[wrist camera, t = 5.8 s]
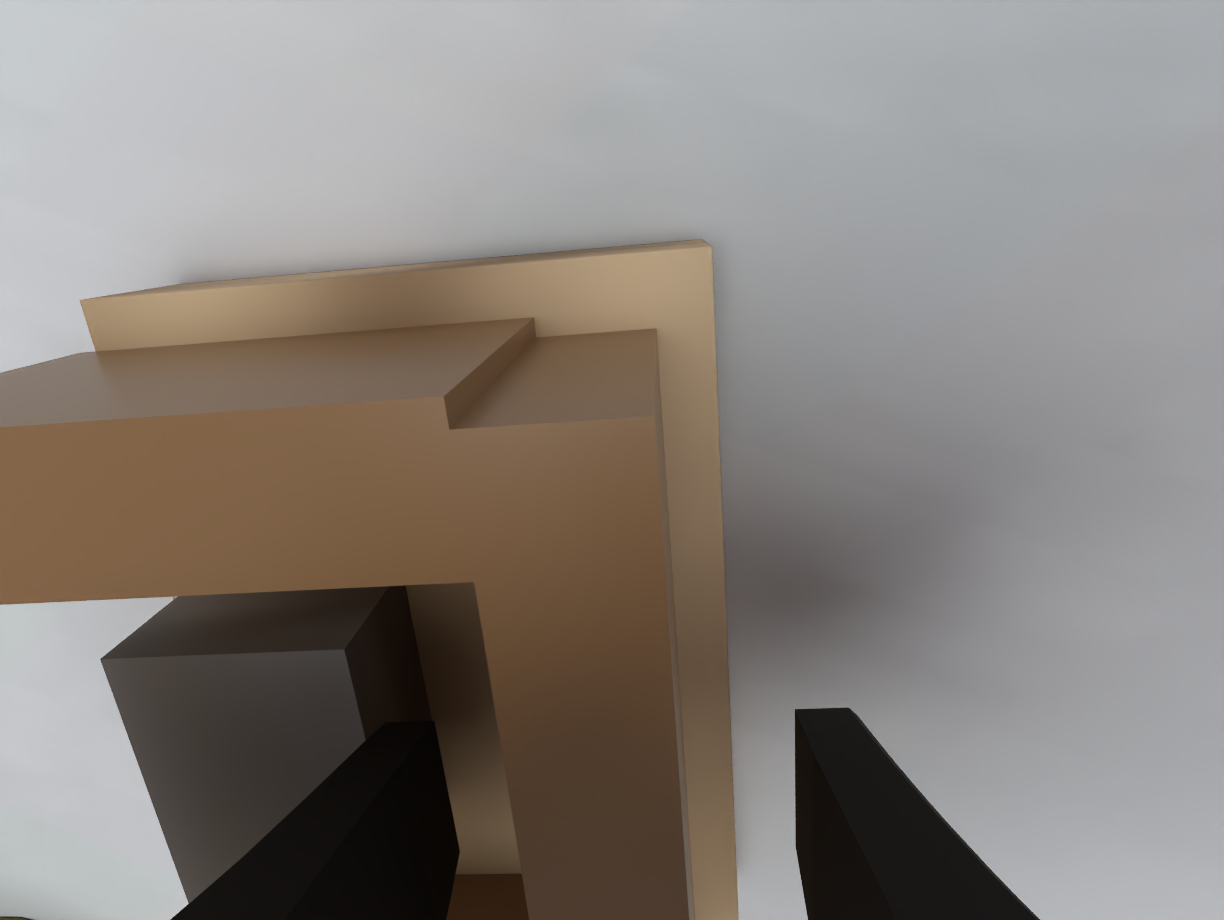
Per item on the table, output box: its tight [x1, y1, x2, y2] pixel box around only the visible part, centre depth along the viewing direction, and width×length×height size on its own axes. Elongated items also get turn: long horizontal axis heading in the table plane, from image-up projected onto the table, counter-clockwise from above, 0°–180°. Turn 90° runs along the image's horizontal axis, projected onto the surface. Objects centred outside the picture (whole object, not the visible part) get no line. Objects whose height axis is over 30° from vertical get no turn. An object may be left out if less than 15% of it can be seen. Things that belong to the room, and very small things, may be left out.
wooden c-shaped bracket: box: [0, 317, 695, 920], centre depth 9 cm, size 8×10×4 cm
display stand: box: [80, 239, 738, 920], centre depth 11 cm, size 8×12×4 cm, turn 5°
